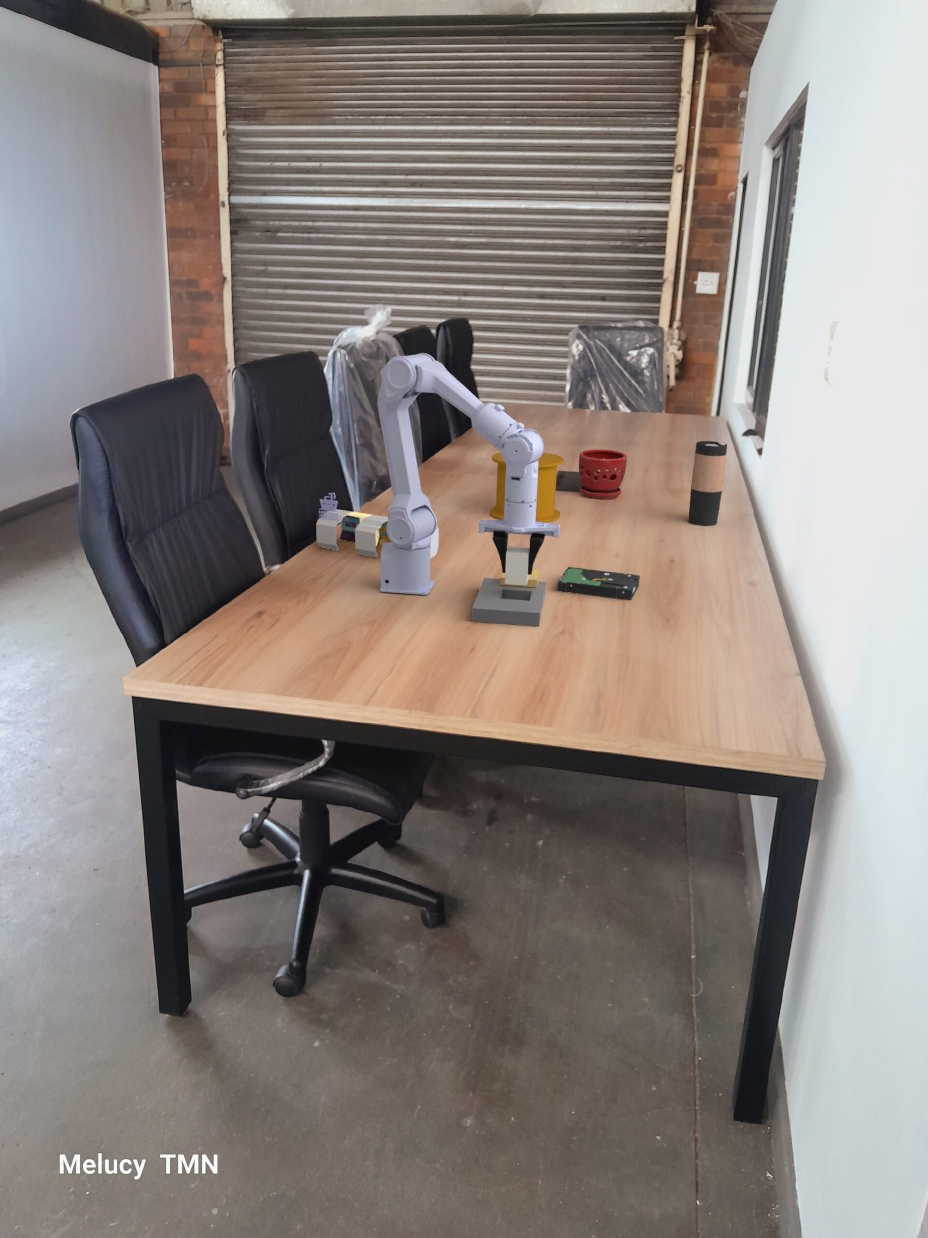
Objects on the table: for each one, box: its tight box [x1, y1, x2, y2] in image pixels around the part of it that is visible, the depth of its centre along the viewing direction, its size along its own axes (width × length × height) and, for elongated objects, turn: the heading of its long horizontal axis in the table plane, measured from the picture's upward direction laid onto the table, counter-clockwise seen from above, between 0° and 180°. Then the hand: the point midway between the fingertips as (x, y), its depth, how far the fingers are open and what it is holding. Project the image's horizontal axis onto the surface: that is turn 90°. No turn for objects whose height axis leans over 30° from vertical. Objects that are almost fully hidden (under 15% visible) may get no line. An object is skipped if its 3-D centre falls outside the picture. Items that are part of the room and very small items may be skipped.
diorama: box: [315, 492, 440, 559], centre depth 208 cm, size 25×10×13 cm, turn 64°
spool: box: [489, 452, 564, 523], centre depth 242 cm, size 18×18×15 cm
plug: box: [505, 545, 530, 585], centre depth 174 cm, size 4×4×6 cm
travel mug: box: [688, 440, 728, 527], centre depth 239 cm, size 8×8×20 cm
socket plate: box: [471, 577, 547, 627], centre depth 177 cm, size 12×18×2 cm, turn 172°
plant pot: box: [578, 448, 628, 500], centre depth 266 cm, size 13×13×12 cm
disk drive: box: [556, 566, 641, 601], centre depth 189 cm, size 10×3×15 cm
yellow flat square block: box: [499, 568, 540, 588], centre depth 184 cm, size 7×7×2 cm
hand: (517, 572), depth 175 cm, fingers closed on plug, 4 cm apart
